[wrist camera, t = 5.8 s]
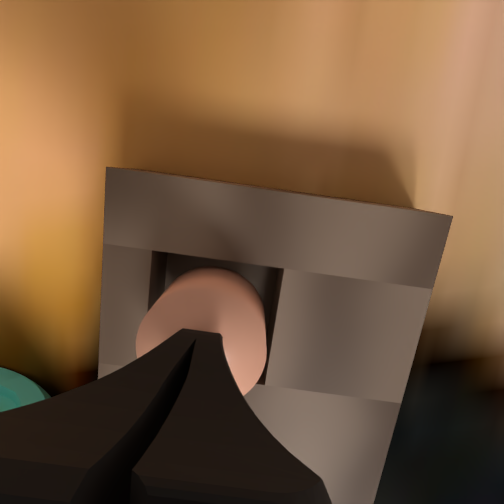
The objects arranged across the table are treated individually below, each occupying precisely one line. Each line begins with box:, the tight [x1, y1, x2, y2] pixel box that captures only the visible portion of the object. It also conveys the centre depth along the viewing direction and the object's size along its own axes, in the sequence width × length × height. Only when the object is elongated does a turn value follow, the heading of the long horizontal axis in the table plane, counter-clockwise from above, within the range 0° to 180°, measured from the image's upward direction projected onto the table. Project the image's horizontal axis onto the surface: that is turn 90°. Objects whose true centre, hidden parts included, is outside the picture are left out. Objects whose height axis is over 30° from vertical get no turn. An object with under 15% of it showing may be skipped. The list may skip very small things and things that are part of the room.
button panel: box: [98, 167, 453, 504], centre depth 16 cm, size 13×21×3 cm, turn 172°
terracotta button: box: [136, 266, 267, 396], centre depth 12 cm, size 4×4×3 cm
